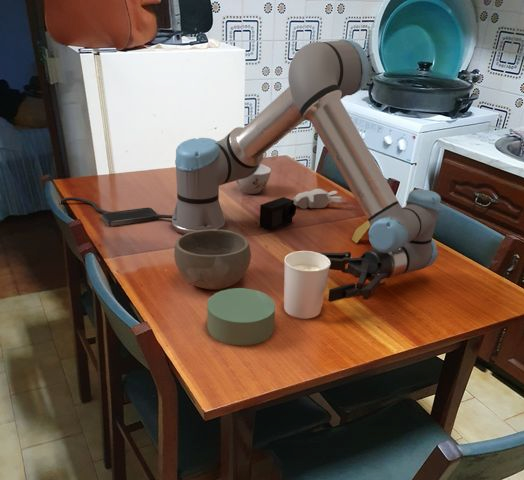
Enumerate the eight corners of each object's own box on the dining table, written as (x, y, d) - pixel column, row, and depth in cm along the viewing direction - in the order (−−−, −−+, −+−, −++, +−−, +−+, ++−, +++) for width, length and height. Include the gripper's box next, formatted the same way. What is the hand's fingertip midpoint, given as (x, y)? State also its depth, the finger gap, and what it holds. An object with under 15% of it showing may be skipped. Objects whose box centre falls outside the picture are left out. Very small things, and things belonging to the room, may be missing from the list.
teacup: (275, 195, 184) (277, 171, 179) (241, 199, 179) (241, 174, 175) (258, 182, 195) (259, 159, 191) (225, 184, 191) (225, 161, 186)
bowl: (181, 262, 139) (180, 224, 133) (251, 266, 139) (252, 229, 133) (169, 295, 125) (167, 254, 119) (247, 299, 125) (249, 259, 119)
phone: (158, 216, 160) (107, 222, 154) (159, 219, 161) (108, 226, 155) (150, 207, 166) (100, 213, 160) (150, 210, 167) (101, 216, 160)
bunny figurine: (291, 189, 178) (335, 183, 180) (291, 204, 181) (335, 198, 183) (298, 199, 170) (344, 193, 172) (298, 215, 173) (344, 208, 175)
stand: (195, 334, 112) (194, 311, 109) (225, 304, 122) (225, 282, 119) (258, 352, 108) (259, 329, 104) (283, 319, 118) (285, 297, 115)
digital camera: (272, 233, 157) (274, 209, 153) (258, 227, 160) (260, 204, 156) (295, 224, 164) (297, 201, 160) (281, 218, 167) (283, 196, 163)
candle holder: (328, 303, 125) (335, 255, 118) (318, 324, 117) (324, 274, 110) (287, 295, 127) (291, 247, 121) (274, 315, 120) (278, 265, 113)
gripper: (350, 229, 136) (279, 245, 126) (424, 270, 119) (349, 291, 109) (346, 257, 140) (277, 274, 130) (417, 300, 123) (344, 323, 113)
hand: (310, 282), depth 119 cm, fingers open, 13 cm apart
